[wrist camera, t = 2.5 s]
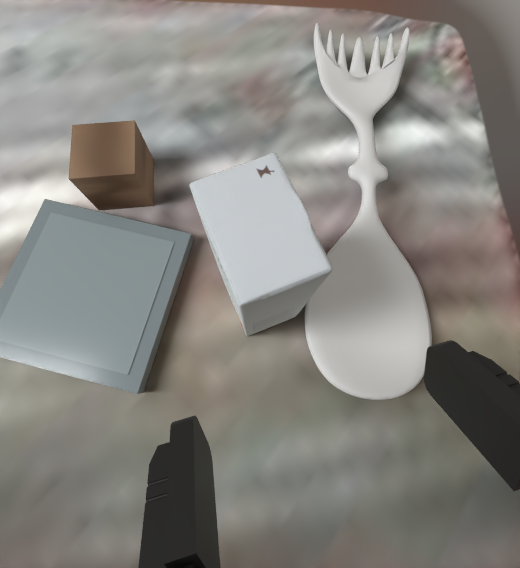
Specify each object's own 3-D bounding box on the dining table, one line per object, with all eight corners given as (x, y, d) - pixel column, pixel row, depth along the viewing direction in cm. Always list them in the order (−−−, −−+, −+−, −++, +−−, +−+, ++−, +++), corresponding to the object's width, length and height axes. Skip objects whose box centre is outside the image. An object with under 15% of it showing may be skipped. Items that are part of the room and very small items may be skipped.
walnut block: (99, 210, 26) (68, 178, 22) (101, 164, 27) (72, 125, 23) (154, 206, 26) (134, 173, 22) (153, 160, 28) (134, 120, 23)
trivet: (-15, 350, 23) (-30, 349, 22) (54, 206, 26) (44, 198, 25) (143, 392, 22) (136, 393, 21) (193, 240, 25) (190, 233, 24)
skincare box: (217, 268, 25) (184, 178, 13) (267, 249, 25) (277, 146, 14) (246, 340, 23) (237, 309, 12) (298, 318, 24) (339, 268, 12)
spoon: (397, 58, 31) (414, 21, 28) (425, 400, 23) (454, 405, 19) (306, 53, 31) (313, 15, 28) (300, 393, 23) (307, 397, 19)
